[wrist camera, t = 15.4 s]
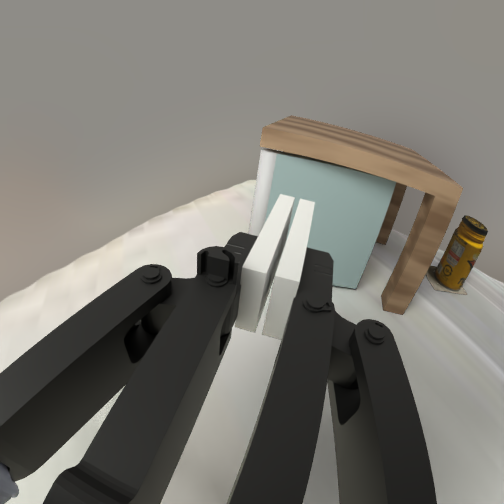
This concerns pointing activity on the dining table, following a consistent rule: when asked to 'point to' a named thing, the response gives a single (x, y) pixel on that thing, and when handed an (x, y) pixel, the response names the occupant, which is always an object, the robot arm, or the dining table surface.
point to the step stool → (404, 174)
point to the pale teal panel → (326, 207)
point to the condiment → (458, 257)
